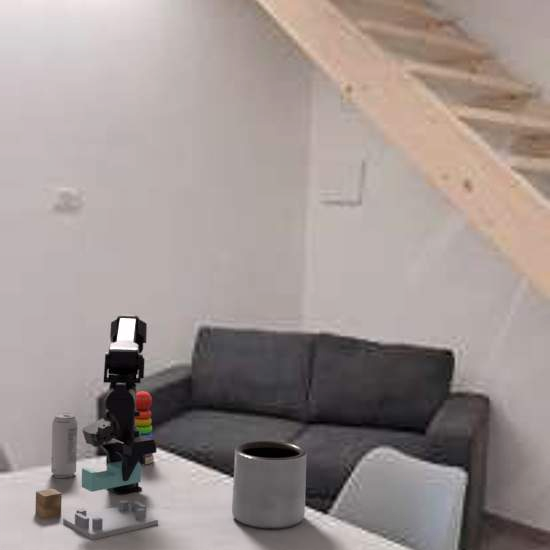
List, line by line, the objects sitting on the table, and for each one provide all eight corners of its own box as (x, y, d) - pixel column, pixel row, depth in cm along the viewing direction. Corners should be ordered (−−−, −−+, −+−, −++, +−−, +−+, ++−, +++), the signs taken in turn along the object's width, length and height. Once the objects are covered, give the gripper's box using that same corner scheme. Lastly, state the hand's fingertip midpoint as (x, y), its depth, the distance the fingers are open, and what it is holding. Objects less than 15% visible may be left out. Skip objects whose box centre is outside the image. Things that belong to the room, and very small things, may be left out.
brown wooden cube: (52, 510, 210) (52, 488, 209) (61, 515, 207) (61, 493, 206) (35, 514, 207) (35, 491, 207) (44, 519, 204) (44, 496, 204)
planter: (292, 535, 200) (296, 463, 199) (221, 524, 205) (224, 453, 204) (312, 512, 216) (315, 445, 214) (245, 503, 220) (248, 437, 219)
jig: (127, 509, 213) (127, 495, 212) (158, 524, 204) (158, 510, 203) (63, 522, 202) (63, 509, 202) (92, 539, 193) (92, 525, 193)
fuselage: (130, 477, 208) (130, 459, 207) (140, 482, 205) (141, 463, 204) (81, 486, 200) (82, 468, 199) (91, 491, 197) (91, 472, 196)
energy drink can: (58, 470, 240) (60, 411, 238) (80, 473, 238) (81, 414, 237) (46, 476, 234) (47, 416, 233) (68, 479, 232) (70, 419, 231)
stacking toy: (129, 467, 245) (131, 395, 244) (119, 459, 252) (121, 389, 251) (158, 464, 249) (160, 393, 247) (147, 456, 256) (149, 387, 254)
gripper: (66, 402, 204) (64, 473, 205) (113, 419, 190) (110, 496, 191) (111, 396, 211) (109, 465, 212) (159, 413, 197) (157, 487, 199)
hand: (120, 478), depth 203 cm, fingers closed on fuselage, 4 cm apart
